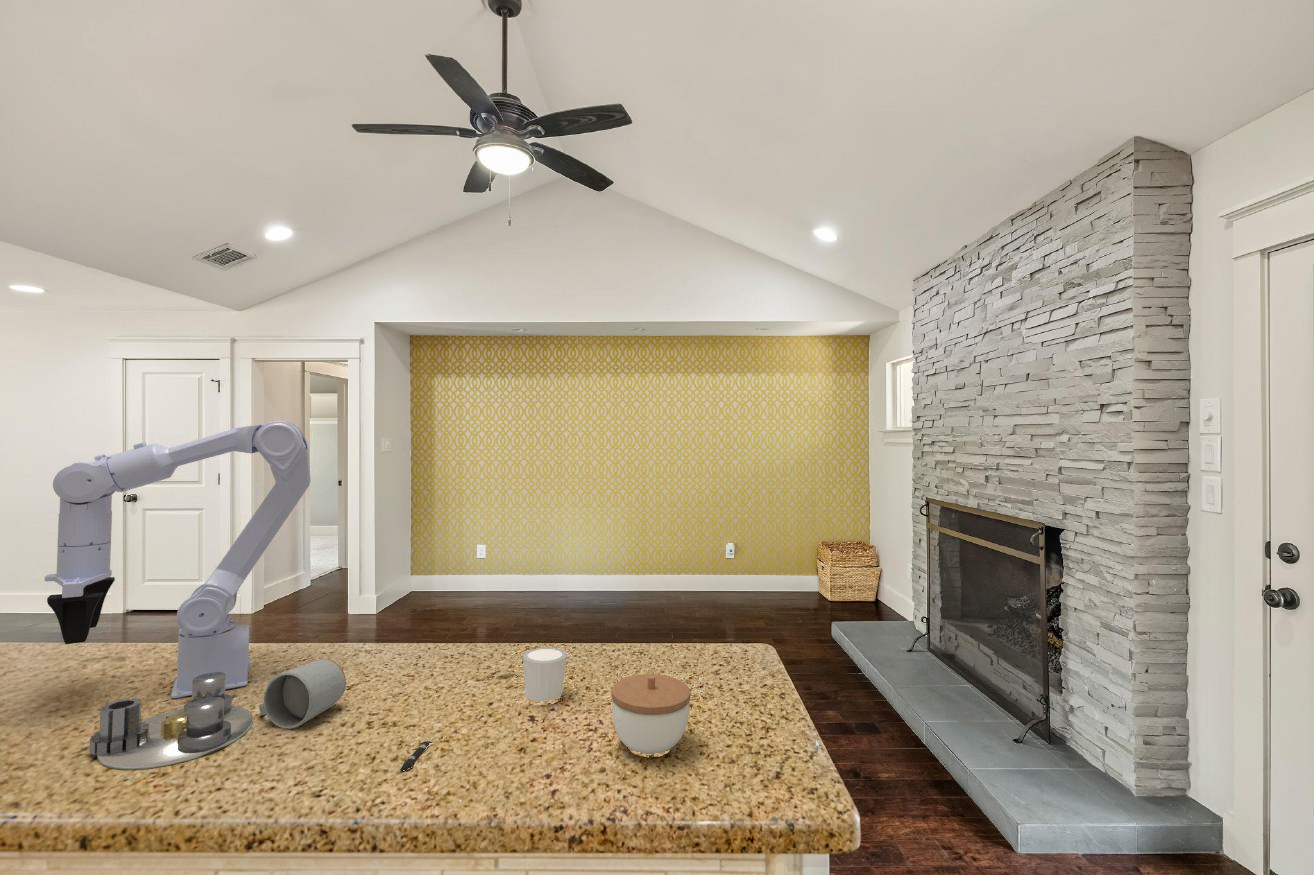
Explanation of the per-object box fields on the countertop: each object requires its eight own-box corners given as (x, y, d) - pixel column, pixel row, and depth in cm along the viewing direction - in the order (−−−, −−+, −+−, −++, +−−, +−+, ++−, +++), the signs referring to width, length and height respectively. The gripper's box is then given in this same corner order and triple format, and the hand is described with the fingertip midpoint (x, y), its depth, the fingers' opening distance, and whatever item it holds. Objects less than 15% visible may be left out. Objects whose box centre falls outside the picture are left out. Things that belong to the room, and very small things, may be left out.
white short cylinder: (512, 702, 92) (514, 657, 92) (537, 686, 98) (538, 644, 98) (550, 711, 89) (551, 665, 89) (573, 694, 96) (574, 650, 96)
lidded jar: (634, 776, 73) (636, 700, 73) (596, 738, 82) (598, 670, 82) (704, 754, 78) (706, 683, 78) (661, 721, 87) (663, 657, 87)
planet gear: (150, 729, 79) (152, 692, 79) (145, 747, 75) (146, 708, 75) (94, 740, 76) (96, 701, 76) (85, 760, 71) (87, 718, 71)
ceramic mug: (349, 706, 89) (350, 655, 89) (309, 732, 81) (310, 676, 81) (287, 700, 91) (288, 650, 91) (241, 725, 82) (243, 670, 83)
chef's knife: (478, 708, 91) (459, 706, 91) (478, 701, 91) (459, 699, 91) (421, 778, 72) (397, 775, 72) (422, 768, 72) (398, 765, 72)
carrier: (251, 700, 90) (253, 663, 90) (253, 746, 77) (254, 703, 77) (109, 726, 81) (111, 685, 81) (84, 784, 68) (86, 735, 68)
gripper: (59, 537, 91) (56, 625, 91) (32, 554, 79) (28, 655, 79) (120, 534, 95) (117, 618, 95) (103, 549, 83) (99, 646, 83)
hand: (81, 635), depth 88 cm, fingers open, 7 cm apart
